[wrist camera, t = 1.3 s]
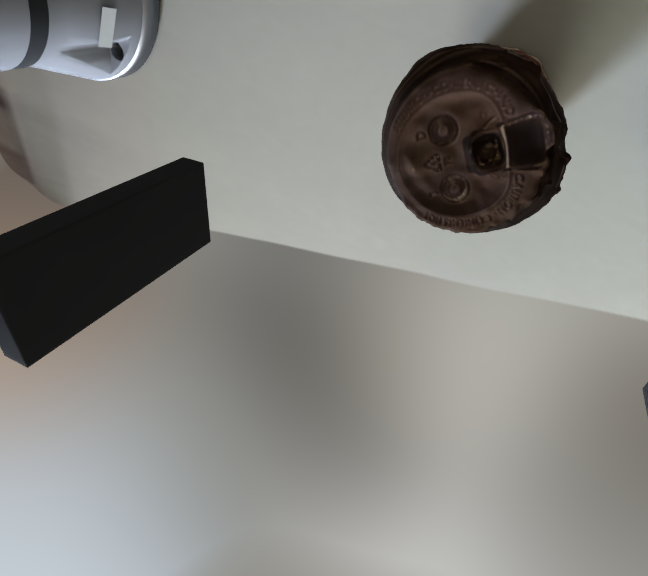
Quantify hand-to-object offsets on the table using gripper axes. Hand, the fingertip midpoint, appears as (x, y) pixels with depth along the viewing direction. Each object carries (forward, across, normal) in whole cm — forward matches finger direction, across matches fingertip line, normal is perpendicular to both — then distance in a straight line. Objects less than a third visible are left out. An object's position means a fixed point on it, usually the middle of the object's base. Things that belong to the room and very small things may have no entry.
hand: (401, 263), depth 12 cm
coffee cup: (+22, 0, 0) cm, 22 cm away
